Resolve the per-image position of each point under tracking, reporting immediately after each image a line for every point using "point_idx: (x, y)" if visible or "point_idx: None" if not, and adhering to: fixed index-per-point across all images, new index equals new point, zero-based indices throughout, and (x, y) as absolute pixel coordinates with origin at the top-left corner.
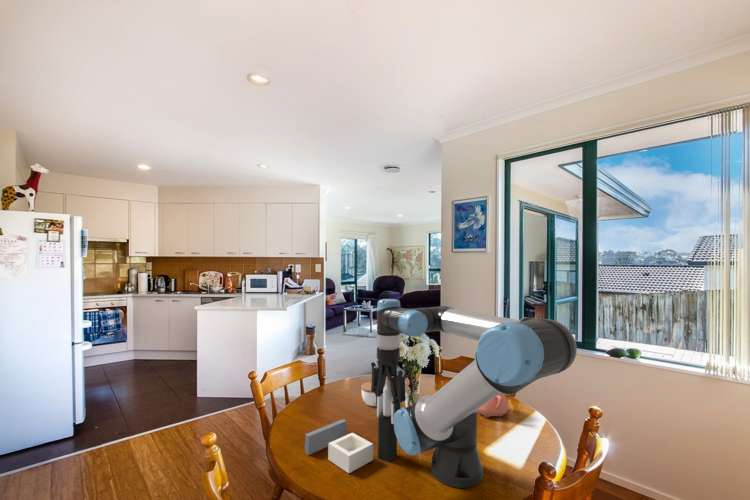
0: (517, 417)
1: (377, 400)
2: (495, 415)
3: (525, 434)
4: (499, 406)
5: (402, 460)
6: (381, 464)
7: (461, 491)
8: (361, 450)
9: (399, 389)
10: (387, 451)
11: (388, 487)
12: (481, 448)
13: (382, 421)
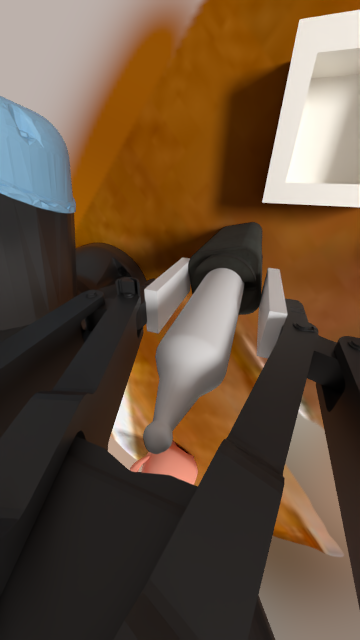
0: (143, 448)
1: (282, 302)
2: None
3: None
4: (141, 458)
5: None
6: (231, 204)
7: None
8: (277, 127)
9: (28, 332)
10: (221, 230)
11: (157, 132)
12: None
13: (228, 246)
